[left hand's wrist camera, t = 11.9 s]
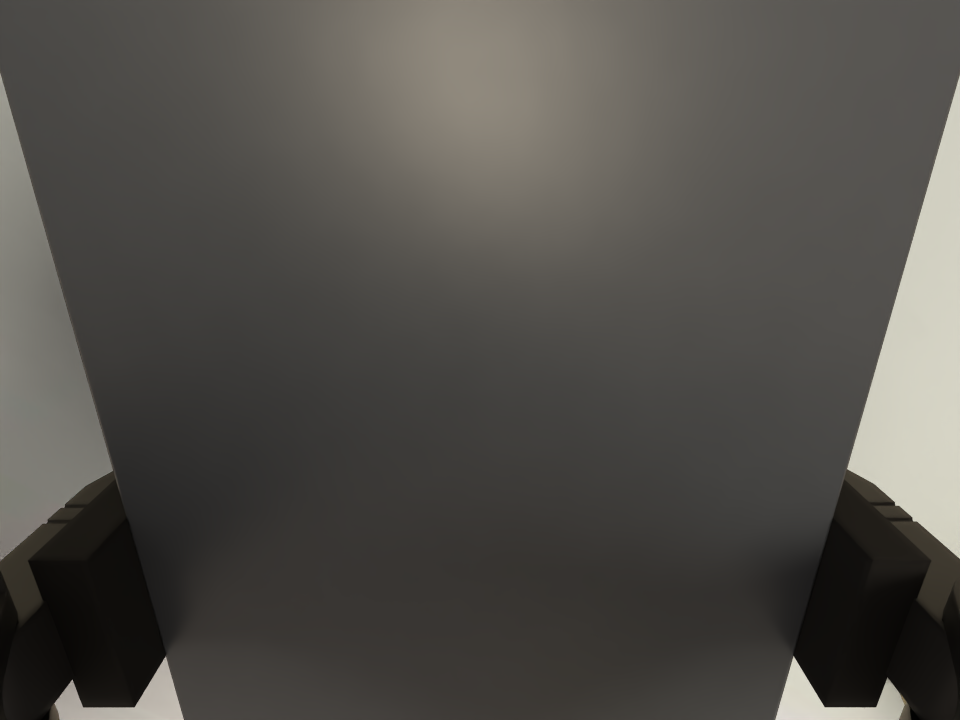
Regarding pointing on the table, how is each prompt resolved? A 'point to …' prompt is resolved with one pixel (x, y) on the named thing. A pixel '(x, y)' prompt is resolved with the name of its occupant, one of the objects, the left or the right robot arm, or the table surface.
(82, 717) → the table surface
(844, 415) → the long beam
